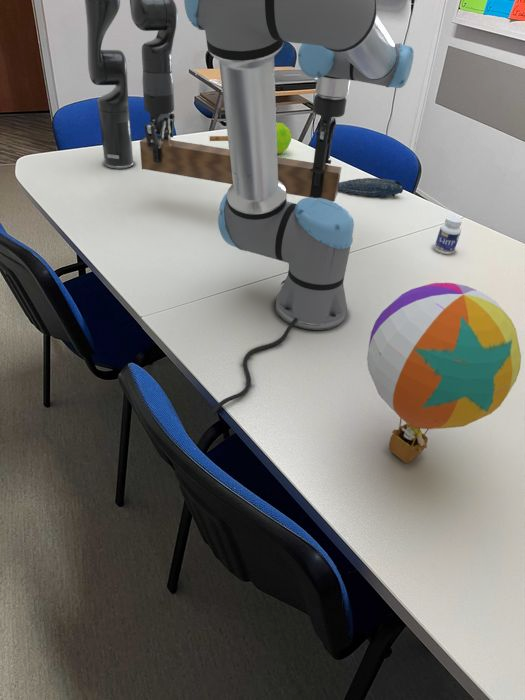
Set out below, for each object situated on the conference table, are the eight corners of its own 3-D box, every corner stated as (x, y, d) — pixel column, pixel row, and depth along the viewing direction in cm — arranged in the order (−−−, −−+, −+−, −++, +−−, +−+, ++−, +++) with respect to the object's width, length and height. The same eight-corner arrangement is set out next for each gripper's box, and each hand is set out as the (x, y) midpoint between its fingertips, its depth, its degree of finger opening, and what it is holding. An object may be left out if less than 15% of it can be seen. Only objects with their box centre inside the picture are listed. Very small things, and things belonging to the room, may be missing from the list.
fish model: (402, 201, 164) (405, 185, 161) (336, 194, 165) (338, 178, 162) (400, 193, 170) (403, 178, 167) (335, 186, 171) (338, 171, 168)
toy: (317, 443, 83) (351, 282, 64) (393, 393, 94) (441, 242, 75) (417, 530, 72) (494, 366, 53) (490, 462, 83) (575, 305, 64)
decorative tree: (206, 116, 188) (287, 116, 194) (207, 146, 195) (285, 145, 200) (212, 130, 175) (298, 130, 180) (212, 162, 181) (296, 160, 186)
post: (337, 195, 136) (341, 167, 132) (334, 201, 133) (338, 173, 128) (149, 163, 145) (147, 136, 140) (141, 168, 141) (139, 141, 137)
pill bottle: (433, 251, 139) (442, 220, 133) (435, 243, 143) (444, 213, 137) (453, 256, 138) (464, 225, 132) (454, 247, 142) (465, 217, 136)
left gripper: (156, 82, 136) (159, 149, 147) (131, 94, 125) (137, 165, 136) (183, 86, 135) (184, 153, 145) (160, 98, 124) (164, 169, 134)
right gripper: (321, 85, 128) (309, 178, 142) (308, 102, 114) (296, 203, 129) (351, 89, 127) (336, 183, 141) (341, 107, 113) (326, 208, 128)
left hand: (161, 158), depth 140 cm, fingers closed on post, 5 cm apart
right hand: (317, 192), depth 135 cm, fingers closed on post, 5 cm apart
